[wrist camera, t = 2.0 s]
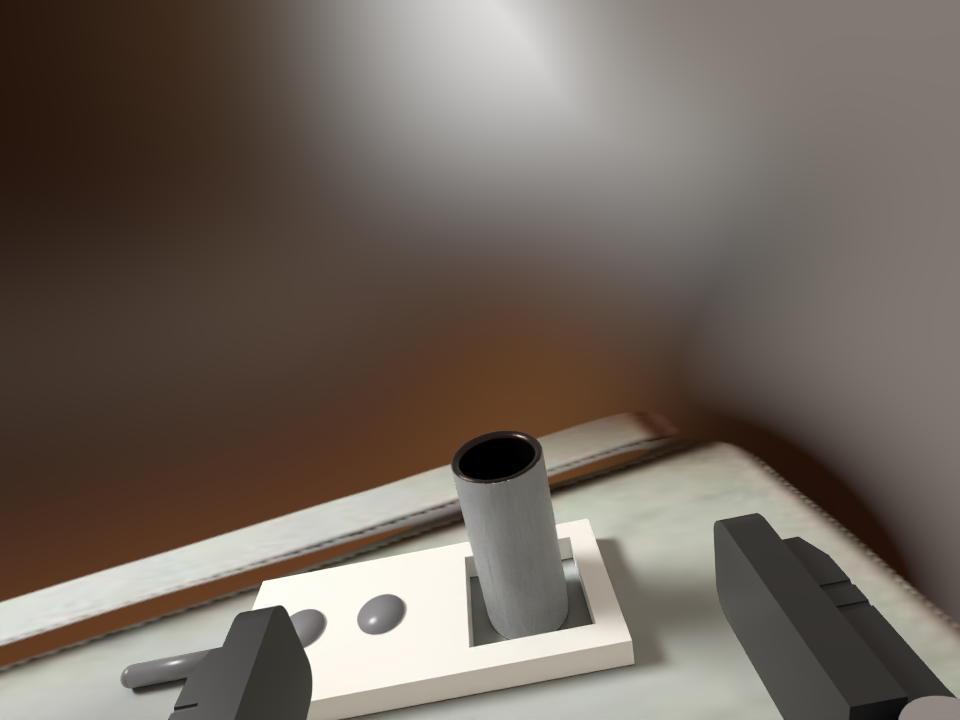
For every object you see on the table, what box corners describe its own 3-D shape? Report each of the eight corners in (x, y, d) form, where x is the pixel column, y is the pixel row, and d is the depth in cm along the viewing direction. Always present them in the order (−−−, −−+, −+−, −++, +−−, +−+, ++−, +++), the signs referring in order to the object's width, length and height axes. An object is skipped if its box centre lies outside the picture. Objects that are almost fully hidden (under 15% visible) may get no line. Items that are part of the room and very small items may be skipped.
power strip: (81, 768, 28) (60, 739, 27) (163, 621, 37) (149, 595, 36) (634, 663, 28) (630, 631, 27) (590, 538, 36) (586, 510, 35)
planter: (533, 566, 35) (504, 420, 31) (586, 608, 31) (561, 449, 27) (473, 609, 33) (433, 458, 29) (522, 659, 29) (485, 495, 25)
